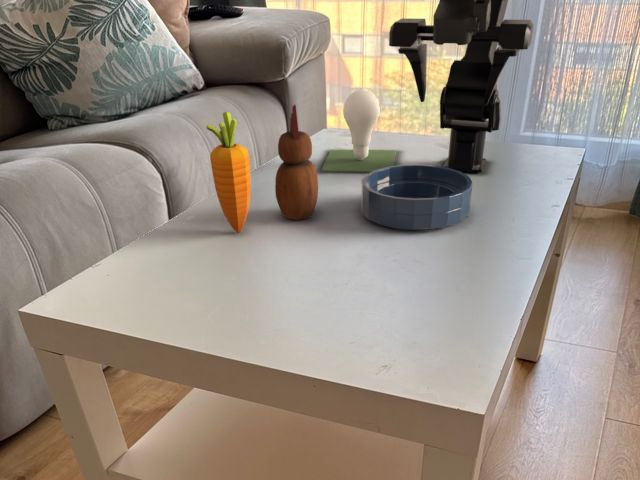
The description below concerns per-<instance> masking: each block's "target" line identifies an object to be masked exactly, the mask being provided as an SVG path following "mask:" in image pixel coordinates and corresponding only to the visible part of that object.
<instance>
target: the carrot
mask: <svg viewBox="0 0 640 480" xmlns="http://www.w3.org/2000/svg"><path fill="white" fill-rule="evenodd" d="M222 118H223V121H221V122H219V123H218V126H219V129H220V130H219V129H218V128H217V127H216V126H215V125H212V124H210V123H208V124H207V125H206V127H205V129H206V130H207V131H210V132H212V133H213V134H214V135H215V137H216V138H217V139H218V140H219V142H220V143H221V144H218V145H217V146H215V147H214V148H213V149H212V150H211V152H210V157H209V159H210V160H209V161H210V165H211V173H212V178H213V183H214V189H215V192H216V195H217V199H218V202H219V204H220V208H221V211H222V213H223V215H224V217H225V219H226V220H227V222H228V224H229V225H230V227H231V228H232V230H233V231H234V232H235V233H237V234H239V233H241V232H242V230H243V228H244V225H245V223H246V221H247V218H248V217H247V216H248V213H249V210H250V201H251V188H252V187H251V186H252V185H251V165H250V155H249V150H248V149H247V148H246V147H245V146H243V145H241V144H239V143H235V142H234V141H235V140H234V139H235V134H236V130H237V125H238V121H237V120H236V119H235V118H232V115H231V113H230V112H229V111H224V112H222Z"/></svg>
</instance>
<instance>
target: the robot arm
mask: <svg viewBox="0 0 640 480" xmlns="http://www.w3.org/2000/svg"><path fill="white" fill-rule="evenodd" d="M508 3H509V0H439V1H438V4H437V7H436V9H435V11H434V12H433V13H434V14H433V16H432V18H433V20H432V21H433V22H432V23H433V24H427V21H426V18H405V17H404V18H403V17H402V18H400V19H398V20H397V21H394V22H393V24H392V25H390V29H389V36H388V47H392V48H394V47H395V48H396V47H398V49H397V52H398V54H400V55H401V54H402V55H404V56H405V58H407V61H408V62H409V64H410V67H411V70H412V73H413V76H414V80H415V85H416V89H417V94H418V98H419V101H420V102H421V103H424V102H425V100H426V92H427V62H428V61H427V60H428V58H427V57H428V55H427V54H428V45H427V44H428V43H423V42H424V41H425V42H426V41H430V42H431V41H432V42H433V43H434V44H435V45H438V46H439V45H440V46H442V45H444V44H456V45H457V46H466V49H465V53H464V55H463V57H462V58H461V59H460V60H458V59H457V60H453V62H452V64H451V66H450V68H449V73H448V77H447V81H446V84H445V86H443V87H442V90H441V93H440V99H439V128H440V129H442V130H443V129H450V135H449V146H448V157H447V158H446V159H445V160H446V161H445V162H444V164H443V165H442V167H447V168H451V169H454V170H457V171H460V172H463V173H464V172H465V173H483V171H484V168H485V165H486V163H487V159H486V158H484V152H485V145H486V144H485V143H486V136H487V133H490V134H491V133H493V132H495V131H499V130H500V126H501V125H500V124H501V113H502V112H501V111H502V110H501V99H500V97H499V90H498V84H497V83H498V81H499V78H500V76H501V74H502V72H503V70H504V68H505V66H506V64H507V62H508V60H509V59H510V58H511V57H513V58H514V57H517V56H518V55H519V53H520V52H521V50H522V51H523V50H528V49H529V48H530V46H531V44H532V40H533V33H534V26H535V25H534V23H533V22H532V20H531V19H505V16H506V12H507V11H506V10H507V7H508Z"/></svg>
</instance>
